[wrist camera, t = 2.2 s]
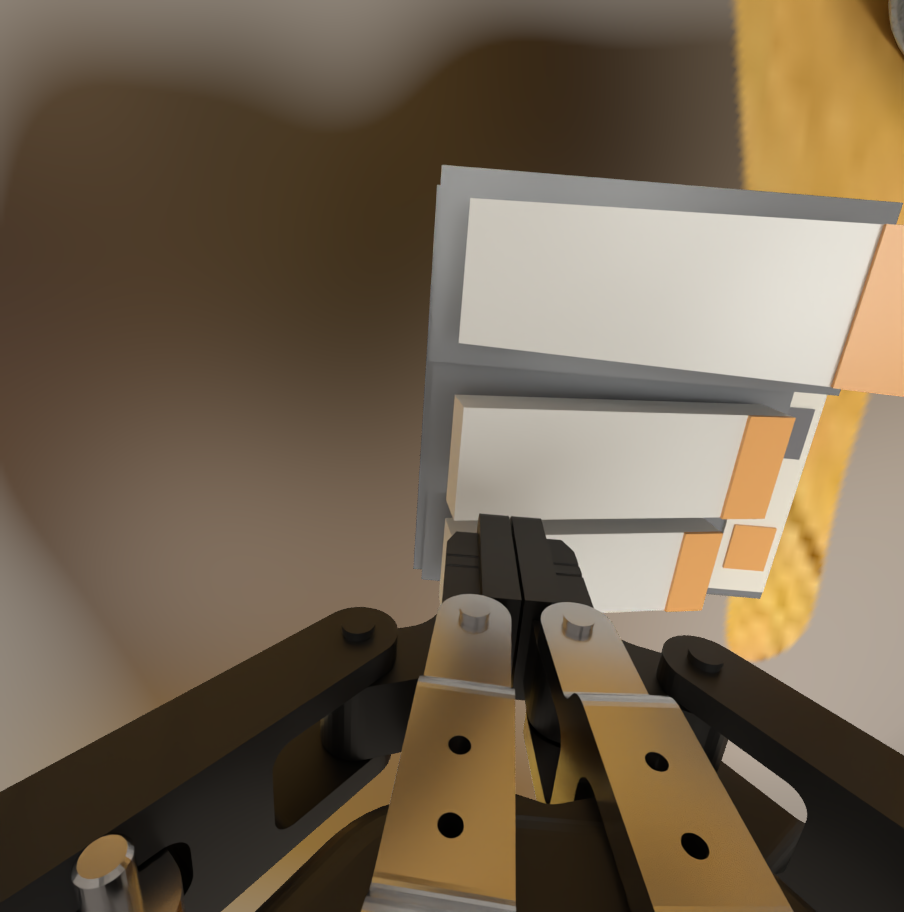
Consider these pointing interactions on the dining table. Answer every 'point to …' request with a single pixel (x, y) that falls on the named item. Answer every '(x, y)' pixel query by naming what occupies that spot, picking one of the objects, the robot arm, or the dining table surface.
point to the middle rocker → (613, 458)
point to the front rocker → (689, 291)
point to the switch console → (574, 377)
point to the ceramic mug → (897, 21)
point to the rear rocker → (632, 559)
